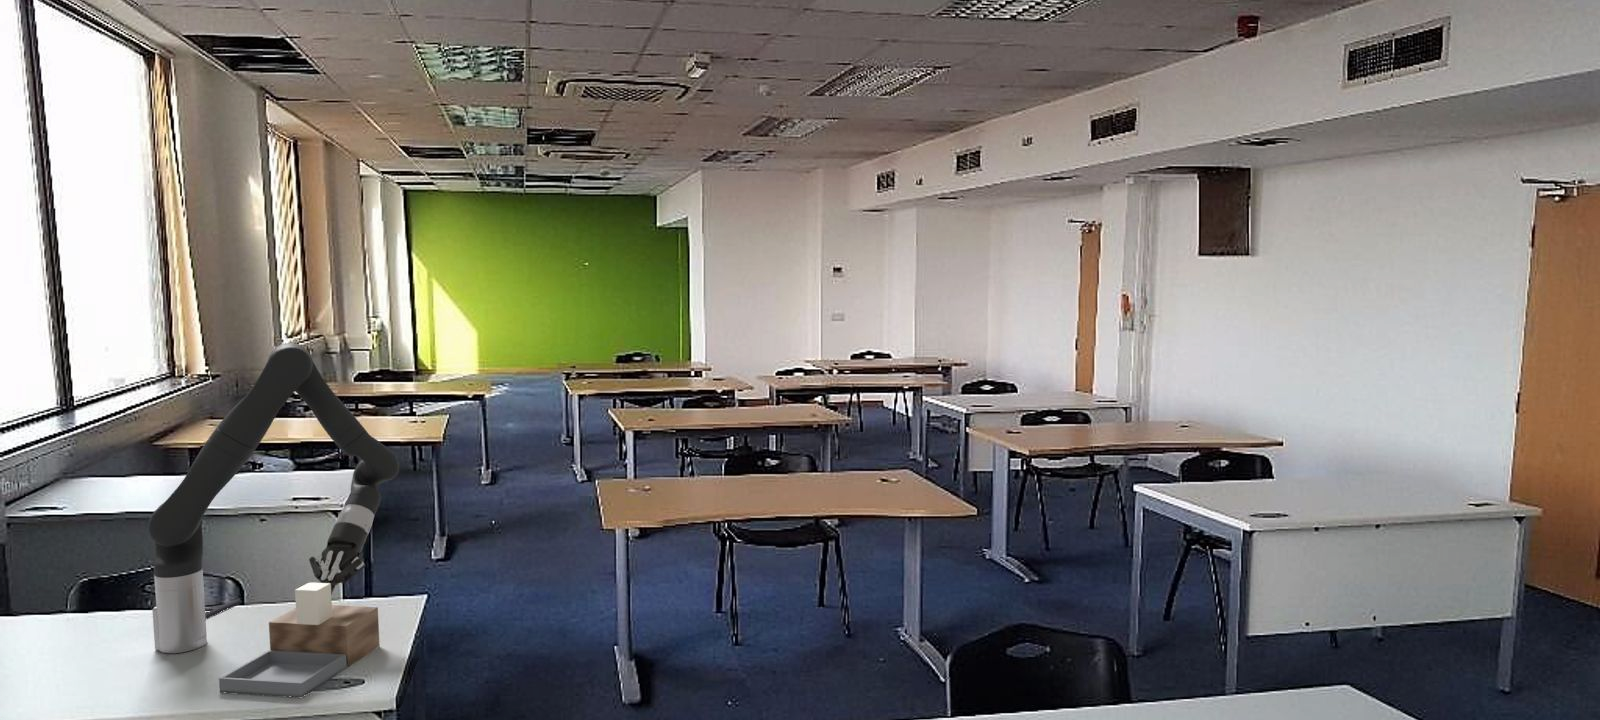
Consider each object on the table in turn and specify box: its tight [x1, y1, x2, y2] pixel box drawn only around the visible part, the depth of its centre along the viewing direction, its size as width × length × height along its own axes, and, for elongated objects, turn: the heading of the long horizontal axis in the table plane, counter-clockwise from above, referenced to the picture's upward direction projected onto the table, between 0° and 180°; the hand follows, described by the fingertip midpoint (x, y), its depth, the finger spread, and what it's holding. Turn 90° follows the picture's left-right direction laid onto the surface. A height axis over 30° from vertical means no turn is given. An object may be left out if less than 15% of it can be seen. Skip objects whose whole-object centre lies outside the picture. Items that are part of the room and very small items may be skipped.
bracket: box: [205, 598, 243, 619], centre depth 251 cm, size 14×15×3 cm
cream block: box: [294, 582, 333, 625], centre depth 218 cm, size 5×5×8 cm
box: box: [218, 649, 348, 698], centre depth 209 cm, size 18×15×3 cm
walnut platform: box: [268, 604, 380, 668], centre depth 222 cm, size 18×12×9 cm, turn 82°
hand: (321, 598), depth 221 cm, fingers closed
